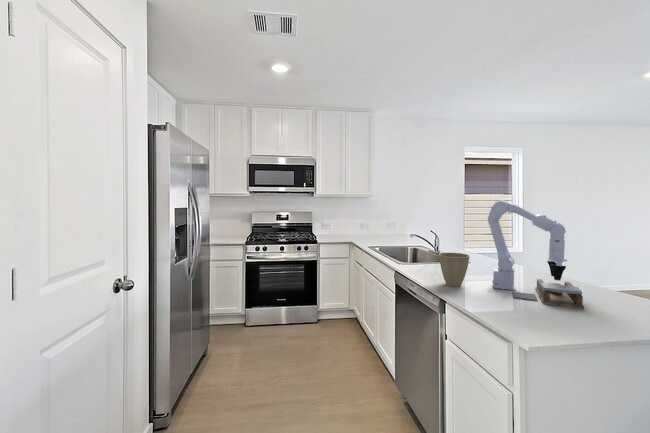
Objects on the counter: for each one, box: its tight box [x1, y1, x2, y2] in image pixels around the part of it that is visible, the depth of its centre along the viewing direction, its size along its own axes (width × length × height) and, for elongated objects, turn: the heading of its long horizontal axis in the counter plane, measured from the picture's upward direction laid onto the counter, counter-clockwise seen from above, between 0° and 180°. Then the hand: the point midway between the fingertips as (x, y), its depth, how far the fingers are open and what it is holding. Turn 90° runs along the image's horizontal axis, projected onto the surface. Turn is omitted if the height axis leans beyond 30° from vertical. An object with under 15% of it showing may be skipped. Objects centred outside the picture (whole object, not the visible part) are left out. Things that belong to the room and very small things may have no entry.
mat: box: [511, 291, 538, 302], centre depth 143 cm, size 9×9×1 cm
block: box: [548, 282, 562, 295], centre depth 146 cm, size 4×4×5 cm
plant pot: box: [438, 252, 471, 288], centre depth 163 cm, size 15×15×16 cm
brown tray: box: [535, 278, 585, 309], centre depth 141 cm, size 14×23×5 cm, turn 152°
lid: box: [541, 282, 583, 296], centre depth 135 cm, size 13×8×1 cm, turn 62°
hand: (555, 278), depth 146 cm, fingers open, 7 cm apart
